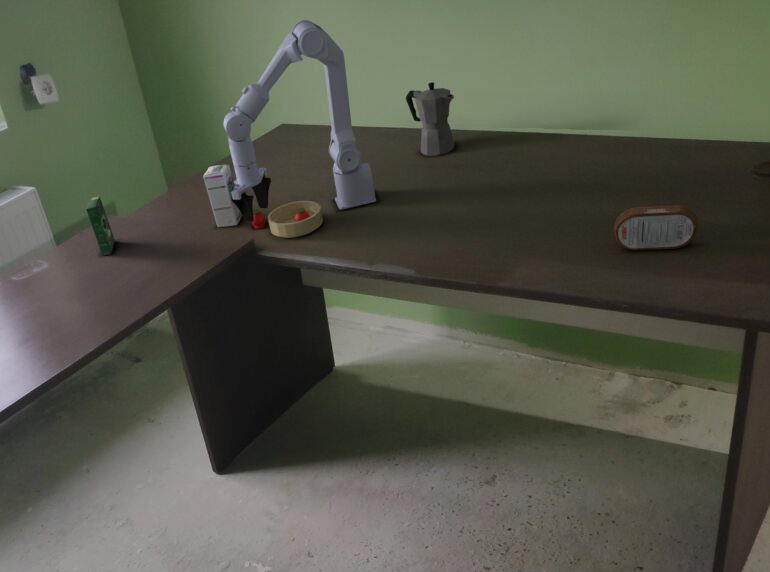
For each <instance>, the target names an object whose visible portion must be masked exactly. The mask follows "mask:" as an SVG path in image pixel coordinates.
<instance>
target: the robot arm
mask: <svg viewBox="0 0 770 572" xmlns="http://www.w3.org/2000/svg"><path fill="white" fill-rule="evenodd" d="M302 56H304V57H306V58H310V59H315V60H317V61H318V62H320V63H322V64H323V70H324V78H325V86H326V94H327V103H328V112H329V119H330V126H331V127H330V128H331V130H330V143H329V146H328V154H329V156H330V158H331V159H332V160H333V166H332V174H333V180H334V185H335V191H336V196H335V197H334V201H335V203H336V205H337V208H338V210H339V211H343V210H348V209H350V208H351V209H352V208H356V207H360V206H364V205H367V204H372V203H375V202H377V199H376V193H375V186H374V179H373V178H374V177H373V172H372V169H371V165H370V163H369V162H365V163H362V154H361V151H360V150H359V149H358V147H357V141H356V136H355V134H354V131H353V125H352V116H351V106H350V98H349V89H348V80H347V78H348V77H347V69H346V61H345V53H344V51H343V50H342V49H341V47H340V46H339V45H338V44H337V43H336V42H335V41H334V39H333V38H332V37H331V36H330V34H329V33H328V32H326V31H325V30H324V29H323V28H322V27H321V26H320V25H318V24H317V23H314V22H312V21H310V20H307V19H305V20H303V19H302V20H300V21H298V22H297V23H295V25H294V26H293V28H292V30H291V32H290V31H289V32H288V34H287V35H286V36H285V38H283V41H282V42H281V44H280V46H279V47H278V49H277V51H276V53H275V54H274V55H273V57H272V58H271V60H270V62H269V63H268V65H267V67H266V69H264V71H263V73H262V75H261V77H260V78H259V80H258V81H257V82H254V83H250V84H248V86H247V87H246V86H244V87H243V88H242V90H241V92H242V94H241V96H240V98H239V99H238V100H237V102H236V104H235V105H231V108H230V112H228V113H227V114H225V116H224V119H223V124H222V126H223V129H224V131H225V133H226V135H227V142H228V144H229V151H230V156H231V161H232V164H233V169H234V172H235V178H236V179H235V180H233V182H234V186H235V188H234V190H233V191H232V192H231V193H232V196H231V201H232V202H233V203H234V204H235V205H236V206H237V207H238V209H239V210H240V212H241V214H242V218H243V219H244V221H245V222H246V223H251V222H253V221H254V215H253V211H254V208H253V201H254V196H255V200H256V202H257V205H258V208H259V209H268V208H269V192H270V186H271V183H272V179H271V177H267V176H268V171H267V170H268V169H267V167H259V165H258V161H257V155H256V152H255V148H254V143H253V141H252V138H251V131H252V124H253V123H255V122H256V119H257V118H258V117H259V116H260V115H261V113H262V111H263V110H264V108H265V107H266V105H268V103H269V101H270V92H271V89H272V88H273V87H274V85H275V84H276V83H277V82H278V81H279V79H280V78H281V77H282V75H283V74H284V73H285V72H286V70H287V68H288V67H289V66H290V65H291V64H294V63H298V62H303V61H304V58H303V57H302ZM250 189H251V190H252V191H253V194H254V195H248V194H247V192H248V191H250Z"/></svg>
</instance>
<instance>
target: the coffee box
mask: <svg viewBox="0 0 770 572" xmlns="http://www.w3.org/2000/svg"><path fill="white" fill-rule="evenodd" d="M85 212H86V214H87V217H88V220H89V222H90V226H91V229H92V232H93V235H94V238H95V239H96V242H97V246H98V249H99V252H100V254H101V256H106V255H110V254H112V251H113V248H114V245H115V243H116V240H115V235H114V233H113V231H112V228H111V225H110V222H109V220H108V216H107V213H106V211H105V206H104V205H103V202H102V199H101V196H100V195H98V196H94V197H90V199H89V200H88V203H87V205H86V207H85Z"/></svg>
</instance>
